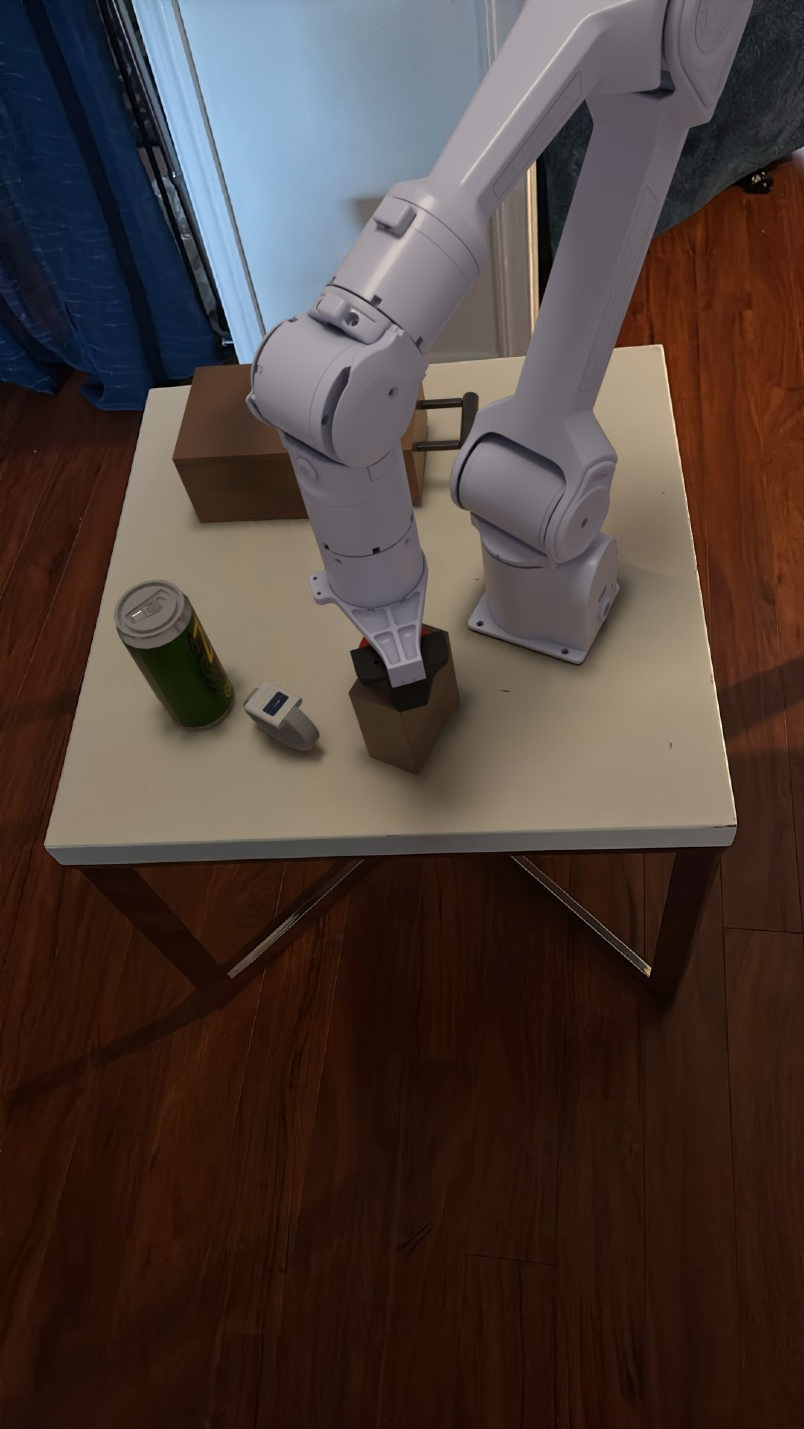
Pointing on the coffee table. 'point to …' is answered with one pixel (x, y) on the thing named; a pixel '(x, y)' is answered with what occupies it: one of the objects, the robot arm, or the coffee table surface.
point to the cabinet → (233, 453)
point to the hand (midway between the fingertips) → (397, 658)
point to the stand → (406, 719)
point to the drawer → (417, 445)
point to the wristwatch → (281, 716)
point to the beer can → (174, 653)
